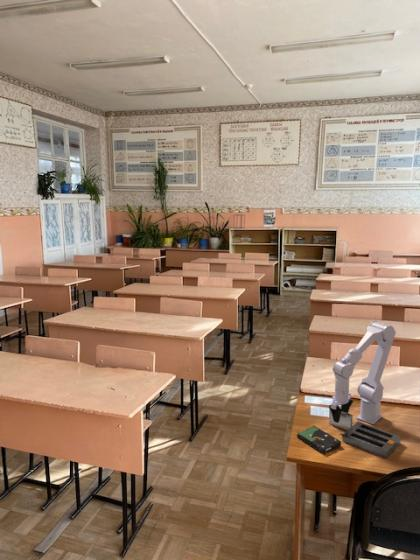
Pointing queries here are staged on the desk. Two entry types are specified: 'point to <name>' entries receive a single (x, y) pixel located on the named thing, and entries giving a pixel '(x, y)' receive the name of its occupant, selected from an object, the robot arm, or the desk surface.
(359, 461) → the desk surface
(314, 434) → the disk drive
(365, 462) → the desk surface
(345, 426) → the steel panel
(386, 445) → the rack block
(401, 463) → the desk surface
